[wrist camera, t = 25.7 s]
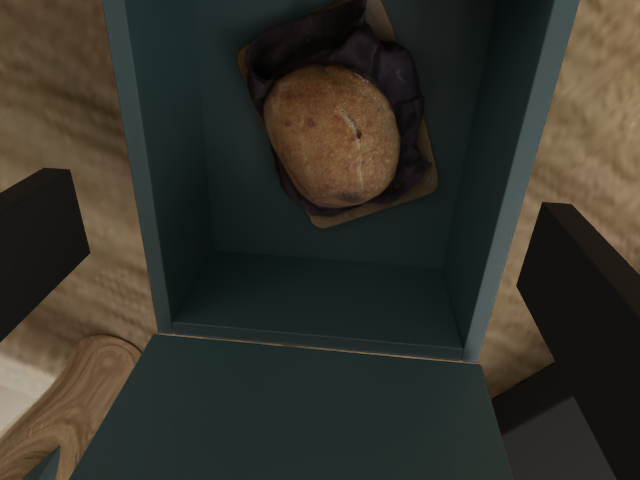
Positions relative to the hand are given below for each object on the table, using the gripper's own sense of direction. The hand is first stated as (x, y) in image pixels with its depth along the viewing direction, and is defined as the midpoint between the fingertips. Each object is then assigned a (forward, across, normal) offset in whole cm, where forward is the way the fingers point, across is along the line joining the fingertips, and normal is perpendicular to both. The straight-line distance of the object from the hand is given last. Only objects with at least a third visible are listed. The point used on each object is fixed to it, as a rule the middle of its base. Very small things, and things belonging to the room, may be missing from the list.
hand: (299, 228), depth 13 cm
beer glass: (+13, -16, -20) cm, 29 cm away
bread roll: (+12, +1, 0) cm, 12 cm away
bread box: (+13, 0, -1) cm, 13 cm away
